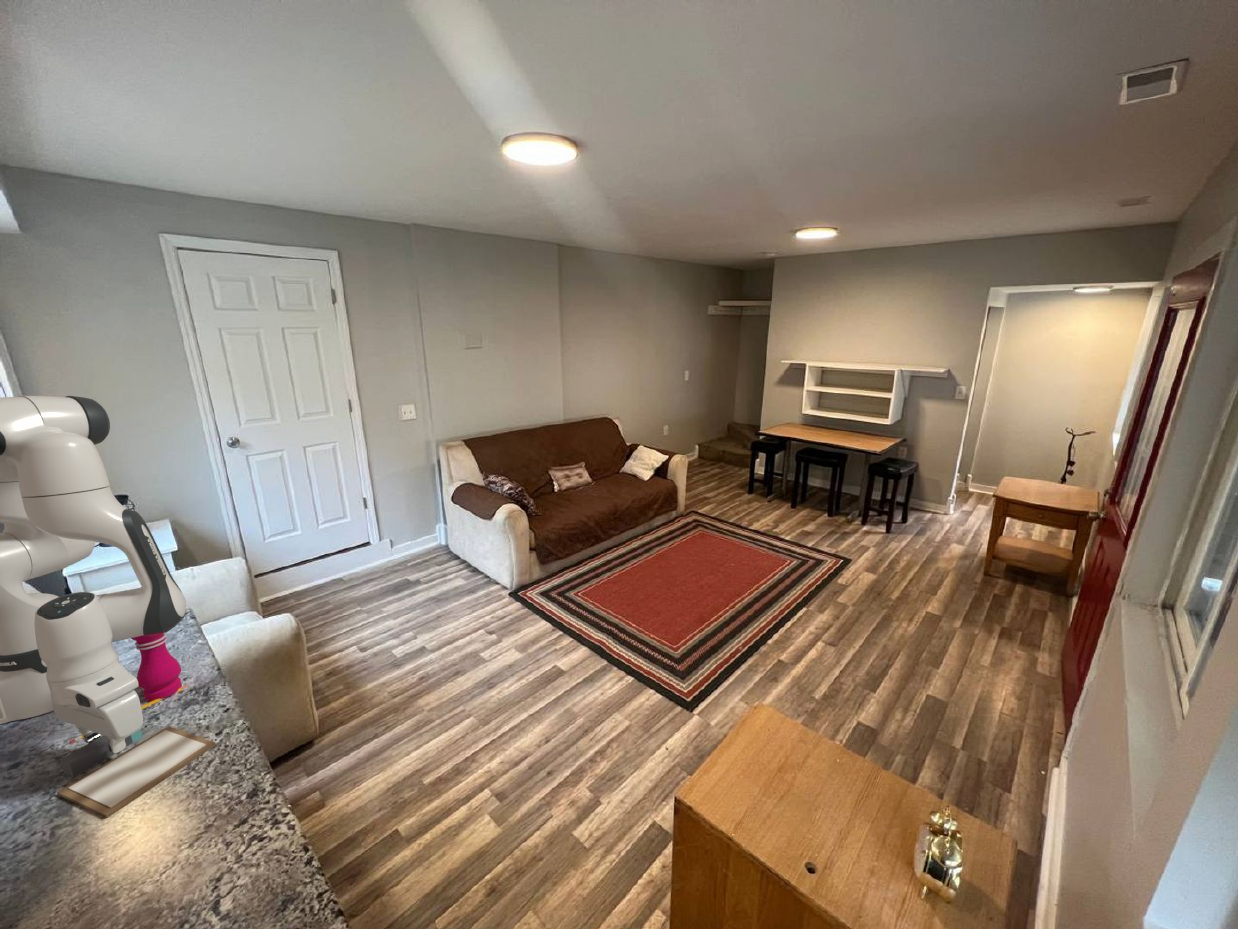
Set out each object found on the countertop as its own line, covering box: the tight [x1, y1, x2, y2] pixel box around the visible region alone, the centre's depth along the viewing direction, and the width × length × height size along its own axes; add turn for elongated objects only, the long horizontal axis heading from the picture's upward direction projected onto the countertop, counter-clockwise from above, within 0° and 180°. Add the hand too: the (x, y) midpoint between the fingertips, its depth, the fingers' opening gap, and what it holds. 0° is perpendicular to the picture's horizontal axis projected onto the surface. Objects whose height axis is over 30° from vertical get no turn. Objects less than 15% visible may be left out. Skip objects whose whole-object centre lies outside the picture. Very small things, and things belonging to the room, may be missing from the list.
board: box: [56, 725, 216, 819], centre depth 87 cm, size 14×16×1 cm
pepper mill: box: [130, 633, 183, 702], centre depth 106 cm, size 7×7×20 cm
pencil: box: [68, 684, 190, 745], centre depth 102 cm, size 1×19×1 cm, turn 154°
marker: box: [59, 728, 144, 778], centre depth 90 cm, size 3×10×3 cm, turn 161°
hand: (105, 745), depth 90 cm, fingers open, 6 cm apart
